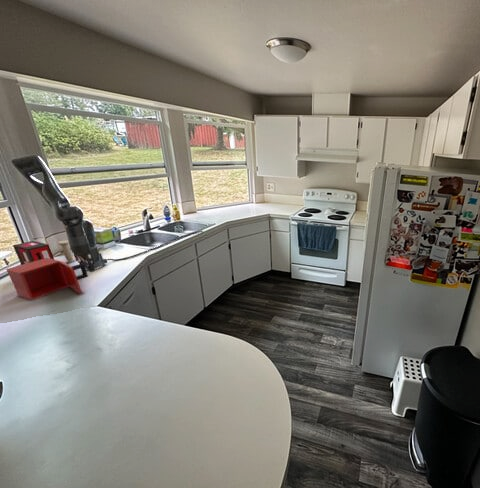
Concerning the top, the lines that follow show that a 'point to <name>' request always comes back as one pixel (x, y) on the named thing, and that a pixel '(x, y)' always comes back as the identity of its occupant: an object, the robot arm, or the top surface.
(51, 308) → the top surface
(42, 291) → the cabinet
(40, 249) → the cleaning product box
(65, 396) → the top surface
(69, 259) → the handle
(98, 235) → the tea box
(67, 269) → the red cabinet door
